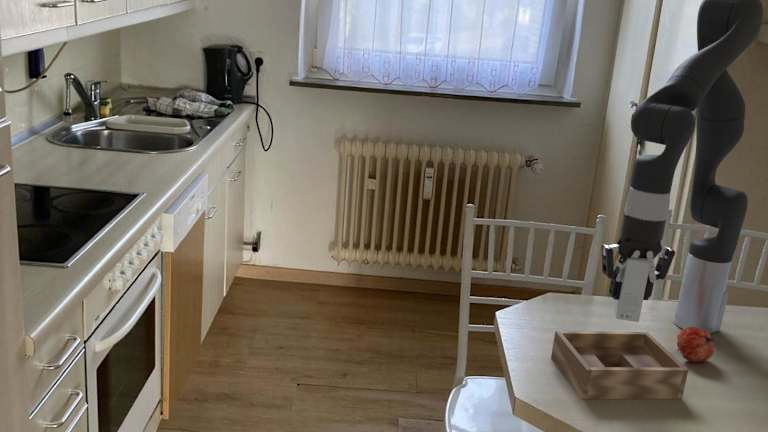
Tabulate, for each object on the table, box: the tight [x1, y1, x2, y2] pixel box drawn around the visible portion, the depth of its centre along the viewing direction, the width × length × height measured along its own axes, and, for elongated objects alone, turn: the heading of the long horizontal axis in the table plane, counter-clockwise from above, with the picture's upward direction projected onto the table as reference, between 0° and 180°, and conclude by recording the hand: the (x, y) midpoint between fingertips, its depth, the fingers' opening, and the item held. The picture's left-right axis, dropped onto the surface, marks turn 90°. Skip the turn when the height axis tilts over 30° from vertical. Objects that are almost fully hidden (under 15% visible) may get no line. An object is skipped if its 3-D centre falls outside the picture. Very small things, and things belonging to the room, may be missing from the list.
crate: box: [550, 330, 689, 400], centre depth 151 cm, size 20×16×6 cm
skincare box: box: [613, 258, 650, 323], centre depth 146 cm, size 6×4×12 cm
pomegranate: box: [676, 326, 716, 363], centre depth 162 cm, size 7×7×10 cm
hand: (629, 298), depth 147 cm, fingers closed on skincare box, 5 cm apart
